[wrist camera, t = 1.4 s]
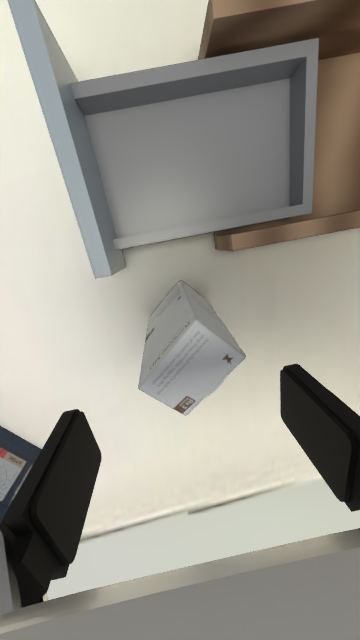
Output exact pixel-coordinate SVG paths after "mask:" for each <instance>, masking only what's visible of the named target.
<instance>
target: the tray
mask: <svg viewBox="0 0 360 640" xmlns="http://www.w3.org/2000/svg"><path fill="white" fill-rule="evenodd" d="M8 3H9V7H10V10H11V13H12V16H13V19H14V22H15V26H16V29H17V32H18V35H19V38H20V41H21V45H22V48H23V51H24V54H25V57H26V60H27V64H28V67H29V70H30V73H31V76H32V80H33V83H34V86H35V89H36V92H37V95H38V99H39V102H40V105H41V108H42V111H43V114H44V118H45V121H46V124H47V127H48V130H49V133H50V137H51V140H52V143H53V146H54V149H55V152H56V156H57V159H58V162H59V165H60V168H61V172H62V175H63V178H64V181H65V184H66V187H67V191H68V194H69V197H70V200H71V203H72V206H73V210H74V213H75V216H76V219H77V222H78V225H79V229H80V232H81V235H82V238H83V241H84V244H85V248H86V251H87V254H88V257H89V260H90V263H91V267H92V270H93V273H94V276H95V279H96V278H101V277H107V276H112V275H113V274H115V273H117V272H118V271H120V270H122V269H123V268H125V267H126V265H125V261H124V258H123V254H122V250H121V249H124V248H130V247H135V246H140V245H146V244H151V243H156V242H162V241H167V240H172V239H178V238H183V237H188V236H194V235H199V234H204V233H210V232H215V231H220V230H226V229H231V228H236V227H242V226H247V225H252V224H258V223H263V222H268V221H274V220H279V219H284V218H290V217H295V216H300V215H304V214H309V213H312V198H313V173H314V148H315V123H316V98H317V73H318V48H319V38H316V39H310V40H305V41H299V42H294V43H288V44H283V45H277V46H272V47H267V48H261V49H256V50H250V51H245V52H239V53H234V54H228V55H223V56H217V57H212V58H206V59H201V60H195V61H190V62H184V63H179V64H173V65H168V66H163V67H157V68H152V69H146V70H141V71H135V72H130V73H124V74H119V75H113V76H108V77H102V78H97V79H91V80H86V81H80V82H78V80H77V78H76V77H75V75H74V73H73V71H72V69H71V67H70V65H69V63H68V61H67V60H66V58H65V56H64V54H63V52H62V50H61V48H60V46H59V45H58V43H57V41H56V39H55V37H54V35H53V33H52V31H51V29H50V28H49V26H48V24H47V22H46V20H45V18H44V16H43V14H42V13H41V11H40V9H39V7H38V5H37V3H36V1H35V0H8Z"/></svg>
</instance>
